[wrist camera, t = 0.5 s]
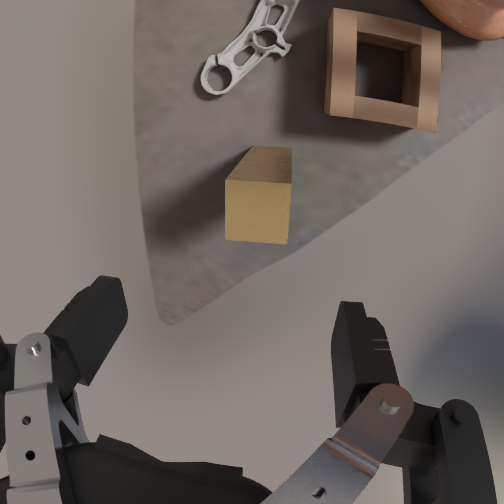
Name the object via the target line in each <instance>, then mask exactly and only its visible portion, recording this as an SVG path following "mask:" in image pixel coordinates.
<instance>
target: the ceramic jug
mask: <svg viewBox="0 0 504 504" xmlns="http://www.w3.org/2000/svg"><path fill="white" fill-rule="evenodd" d="M420 2H421V3H422V4H423V5H424V6H425V7H426V8H427V9H428V10H429V11H430V13H432V14H433V15H434V16H435V17H436V18H437V19H438V20H440V21H441V22H442V23H444V24H446V25H447V26H449V27H451V28H452V29H453V30H455V31H457V32H458V33H460V34H462V35H465V36H467V37H470V38H473V39H478V40H487V41H489V40H497V39H504V0H420Z"/></svg>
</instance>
